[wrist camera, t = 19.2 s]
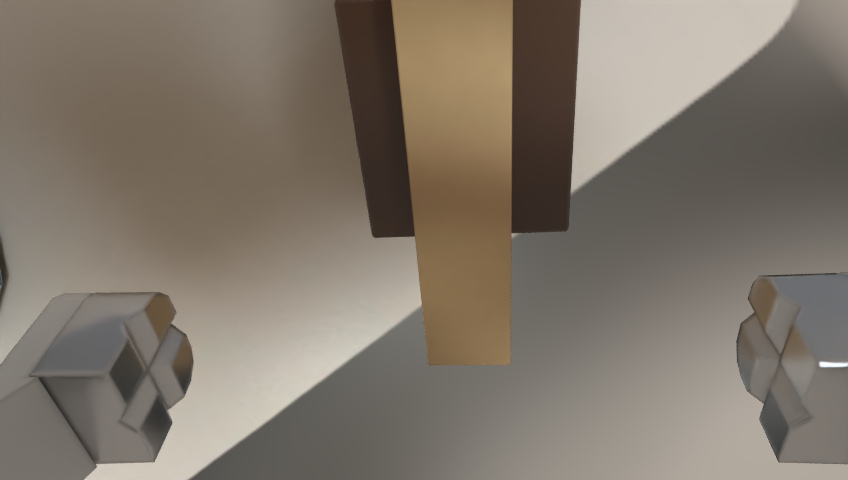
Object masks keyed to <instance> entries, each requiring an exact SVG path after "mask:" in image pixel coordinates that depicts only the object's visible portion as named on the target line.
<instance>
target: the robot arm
mask: <svg viewBox="0 0 848 480" xmlns="http://www.w3.org/2000/svg"><path fill="white" fill-rule="evenodd" d="M748 300H749V302H750V304H751V306H752V308H753V310H754V313H753V314H752V315H750V316H749V317H748V318H747V319H745V320H744V321H743V322H742V323H741V325H740V329H739V333H738V337H737V363H738V367H739V371H740V375H741V378H742V380H743V383H744V385H745V388H746V390H747V391H748V392H749V393H750V394H751V395H753V396H754V397H756V398H757V399H758V400H760V401H761V402H762V403H764V406H763V409H762V412H761V415H760V418H759V420H760V422H761V424H762V426H763V429H764V431H765V433H766V435H767V438H768V440H769V442H770V444H771V447H772V449H773V451H774V453H775V455H776V458H777V460H778V462H782V463H783V462H784V463H822V464H848V272H841V273H839V274H837V273H826V274H796V275H768V276H758V277H757V279H756V280H755V281H754V282H753V284H752V286H751V290H750V293H749V296H748ZM176 313H177V312H176V310H175V308H174V306H173V304H172V302H171V300H170V298H169V296H168V295H165V294H162V293H159V292H128V293H94V294H93V293H64V294H62V295H59V296H57V297H55V298H53V299H52V300H51V301H50V303H49V304H48V305H47V306H46V308H45V309H44V310H43V311H42V313H41V314H40V315H39V316H38V318H37V319H36V320H35V321H34V323H33V324H32V325H31V326H30V328H29V329H28V330H27V332H26V333H25V334H24V335H23V337H22V338H21V339H20V340H19V342H18V343H17V344H16V345H15V347H14V348H13V349H12V350H11V352H10V353H9V354H8V355H7V357H6V358H5V359H4V361H3V362H2V363H1V364H0V480H84V479H85V478H86V477H87V476H88V475H89V474H90V473H91V472H92V471H93V470H94V469H95V468H96V467H97V466H96V464H106V463H141V462H155V460H156V457H157V455H158V453H159V451H160V449H161V446H162V444H163V442H164V440H165V438H166V436H167V433H168V431H169V429H170V427H171V425H172V423H173V422H172V419H171V417H170V414H169V411H168V410H169V409H170V408H171V407H172V406H174V405H175V404H176V403H177V402H179V401H180V400H181V399H182V398H184V396H185V394H186V391H187V389H188V387H189V384H190V382H191V377H192V369H193V355H192V349H191V345H190V343H189V340H188V338H187V335H186V334H185V333H183V332H182V331H180V330H179V329H178V328H176V327H175V326H174V325H172V324H171V323H172V321H173V319H174V317H175V315H176Z"/></svg>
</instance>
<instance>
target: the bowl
mask: <svg viewBox="0 0 848 480" xmlns="http://www.w3.org/2000/svg"><path fill="white" fill-rule="evenodd" d="M2 281H3V279H2V274H1V269H0V292H1V288H2V284H3V282H2Z"/></svg>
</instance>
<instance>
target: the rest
mask: <svg viewBox="0 0 848 480" xmlns="http://www.w3.org/2000/svg"><path fill="white" fill-rule="evenodd" d="M334 6H335V12H336V18H337V24H338V30H339V36H340V43H341V49H342V55H343V61H344V67H345V73H346V79H347V85H348V91H349V97H350V104H351V110H352V116H353V122H354V128H355V134H356V140H357V146H358V152H359V158H360V165H361V171H362V177H363V183H364V189H365V195H366V201H367V207H368V213H369V220H370V226H371V232H372V235H373V237H375V238H382V237H412V236H415V231H414V221H413V211H412V201H411V191H410V181H409V172H408V162H407V152H406V142H405V132H404V122H403V113H402V103H401V93H400V83H399V73H398V63H397V54H396V44H395V34H394V24H393V14H392V4H391V0H335V3H334ZM580 7H581V0H513V53H512V223H511V233H527V232H528V233H531V232H558V231H559V232H561V231H567V229H568V227H569V209H570V191H571V173H572V154H573V136H574V117H575V99H576V80H577V62H578V43H579V25H580Z"/></svg>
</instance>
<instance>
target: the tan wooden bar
mask: <svg viewBox="0 0 848 480" xmlns="http://www.w3.org/2000/svg"><path fill="white" fill-rule="evenodd" d="M391 4H392V14H393V24H394V34H395V44H396V54H397V63H398V73H399V83H400V93H401V103H402V113H403V122H404V132H405V142H406V152H407V162H408V172H409V181H410V191H411V201H412V211H413V221H414V231H415V241H416V250H417V260H418V270H419V280H420V290H421V300H422V309H423V319H424V329H425V338H426V349H427V359H428V364H429V365H509V364H510V363H511V223H512V53H513V0H391Z"/></svg>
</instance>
